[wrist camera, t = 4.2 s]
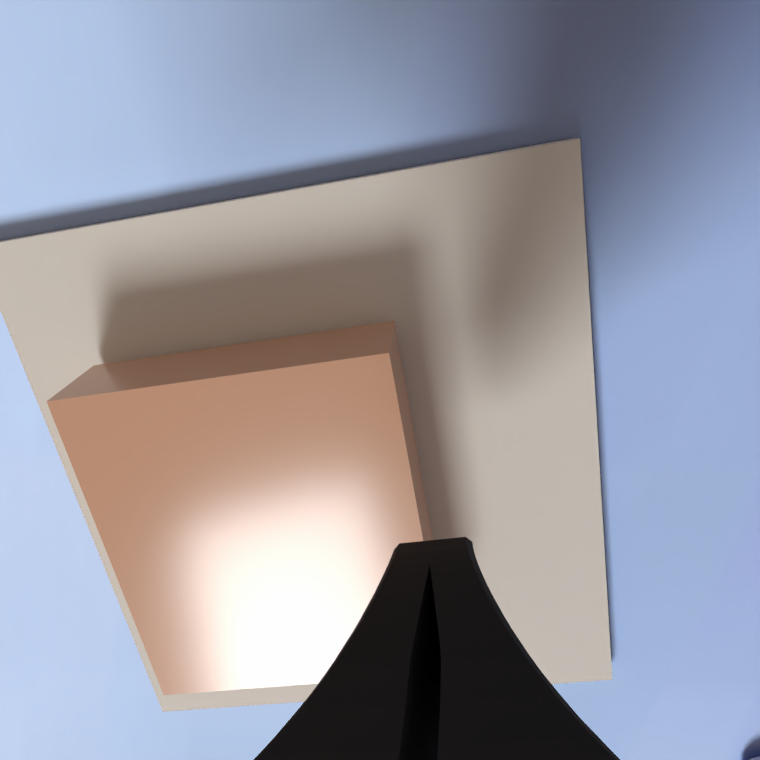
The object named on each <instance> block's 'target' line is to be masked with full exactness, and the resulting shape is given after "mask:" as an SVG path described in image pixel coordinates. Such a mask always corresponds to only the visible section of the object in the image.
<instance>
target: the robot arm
mask: <svg viewBox="0 0 760 760" xmlns="http://www.w3.org/2000/svg"><path fill="white" fill-rule="evenodd" d="M254 760H620V759H619V758H618V757H617V756H616V755H615V754H614V753H613V752H612V751H611V750H610V749H609V748H608V747H607V746H606V745H605V744H604V743H603V742H602V741H601V739H600V738H599V737H598V736H597V735H596V734H595V733H594V732H593V731H592V730H591V729H590V728H589V727H588V726H587V725H586V724H585V723H584V722H583V721H582V720H581V719H580V718H579V716H578V715H577V714H576V713H575V712H574V711H573V710H572V708H571V707H570V706H569V705H568V704H567V702H566V701H565V700H564V699H563V698H562V697H561V695H560V694H559V693H558V692H557V691H556V689H555V688H554V687H553V686H552V684H551V683H550V682H549V680H548V679H547V678H546V677H545V675H544V674H543V673H542V672H541V670H540V669H539V667H538V666H537V665H536V663H535V662H534V661H533V659H532V658H531V656H530V655H529V654H528V652H527V651H526V649H525V648H524V646H523V645H522V643H521V642H520V640H519V639H518V637H517V636H516V634H515V633H514V631H513V630H512V628H511V626H510V625H509V623H508V622H507V620H506V618H505V617H504V615H503V613H502V611H501V609H500V608H499V606H498V604H497V602H496V601H495V599H494V597H493V595H492V593H491V591H490V589H489V587H488V585H487V583H486V581H485V579H484V577H483V574H482V572H481V570H480V567H479V565H478V562H477V559H476V557H475V553H474V549H473V543H472V541H471V540H469V539H468V538H466V537H458V538H448V539H439V540H429V541H419V542H409V543H399V544H398V546H397V547H396V548H395V549H394V551H393V554H392V556H391V559H390V561H389V563H388V566H387V568H386V570H385V572H384V574H383V577H382V579H381V581H380V583H379V585H378V587H377V589H376V591H375V593H374V595H373V597H372V598H371V600H370V602H369V604H368V606H367V608H366V609H365V611H364V613H363V615H362V617H361V619H360V620H359V622H358V624H357V626H356V627H355V629H354V631H353V632H352V634H351V635H350V637H349V639H348V640H347V642H346V643H345V645H344V646H343V648H342V650H341V651H340V653H339V654H338V656H337V657H336V659H335V661H334V662H333V664H332V665H331V667H330V668H329V669H328V671H327V672H326V674H325V675H324V677H323V678H322V679H321V681H320V682H319V683H318V685H317V686H316V687H315V689H314V690H313V691H312V693H311V694H310V695H309V697H308V698H307V699H306V700H305V702H304V703H303V704H302V706H301V707H300V708H299V709H298V710H297V712H296V713H295V714H294V715H293V716H292V718H291V719H290V720H289V721H288V722H287V723H286V725H285V726H284V727H283V728H282V729H281V730H280V732H279V733H278V734H277V735H276V736H275V737H274V738H273V740H272V741H271V742H270V743H269V744H268V745H267V746H266V747H265V748H264V749H263V750H262V752H261V753H260V754H259V755H258V756H257V757H256V758H255V759H254ZM750 760H760V756H759V757H754V758H752V759H750Z"/></svg>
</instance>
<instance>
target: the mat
mask: <svg viewBox="0 0 760 760" xmlns="http://www.w3.org/2000/svg"><path fill="white" fill-rule="evenodd" d="M0 311H1V313H2V316H3V318H4V320H5V323H6V325H7V328H8V330H9V333H10V335H11V338H12V340H13V343H14V345H15V348H16V350H17V353H18V355H19V358H20V360H21V362H22V365H23V367H24V370H25V372H26V375H27V377H28V380H29V382H30V385H31V387H32V390H33V392H34V395H35V397H36V399H37V402H38V404H39V407H40V409H41V412H42V414H43V417H44V419H45V422H46V424H47V427H48V429H49V432H50V434H51V436H52V439H53V441H54V444H55V446H56V449H57V451H58V454H59V456H60V459H61V461H62V464H63V466H64V469H65V471H66V474H67V476H68V478H69V481H70V483H71V486H72V488H73V491H74V493H75V496H76V498H77V501H78V503H79V506H80V508H81V511H82V513H83V515H84V518H85V520H86V523H87V525H88V528H89V530H90V533H91V535H92V538H93V540H94V543H95V545H96V548H97V550H98V552H99V555H100V557H101V560H102V562H103V565H104V567H105V570H106V572H107V575H108V577H109V580H110V582H111V585H112V587H113V590H114V592H115V594H116V597H117V599H118V602H119V604H120V607H121V609H122V612H123V614H124V617H125V619H126V622H127V624H128V627H129V629H130V631H131V634H132V636H133V639H134V641H135V644H136V646H137V649H138V651H139V654H140V656H141V659H142V661H143V664H144V666H145V668H146V671H147V673H148V676H149V678H150V681H151V683H152V686H153V688H154V691H155V693H156V696H157V698H158V701H159V703H160V705H161V708H162V710H163V712H165V711H179V710H193V709H207V708H221V707H235V706H249V705H263V704H277V703H291V702H305V700H306V699H307V698H308V697H309V695H310V694H311V693H312V691H313V690H314V689H315V687H316V686H317V685H318V684H307V685H294V686H280V687H267V688H253V689H240V690H227V691H213V692H200V693H187V694H173V695H163V692H162V690H161V687H160V685H159V682H158V679H157V677H156V674H155V672H154V669H153V667H152V664H151V662H150V659H149V657H148V654H147V652H146V649H145V647H144V644H143V642H142V639H141V637H140V634H139V632H138V629H137V627H136V624H135V622H134V619H133V617H132V614H131V612H130V609H129V607H128V604H127V602H126V599H125V597H124V594H123V592H122V589H121V587H120V584H119V582H118V579H117V577H116V574H115V572H114V569H113V567H112V564H111V562H110V559H109V557H108V554H107V552H106V549H105V547H104V544H103V542H102V539H101V537H100V534H99V532H98V529H97V527H96V524H95V522H94V519H93V517H92V514H91V512H90V509H89V507H88V504H87V502H86V499H85V497H84V494H83V492H82V489H81V487H80V484H79V482H78V479H77V477H76V474H75V472H74V469H73V467H72V464H71V462H70V459H69V457H68V454H67V452H66V449H65V447H64V444H63V442H62V439H61V437H60V434H59V432H58V429H57V427H56V424H55V422H54V419H53V417H52V414H51V412H50V409H49V407H48V404H47V402H46V401H48V400H49V399H50V398H52V397H53V396H54V395H55V394H57V393H58V392H59V391H61V390H62V389H63V388H65V387H66V386H67V385H69V384H70V383H71V382H72V381H74V380H75V379H76V378H78V377H79V376H80V375H82V374H83V373H84V372H86V371H87V370H88V369H89V368H91V367H92V366H93V365H99V364H106V363H113V362H120V361H126V360H133V359H140V358H147V357H153V356H160V355H167V354H174V353H180V352H187V351H194V350H201V349H207V348H214V347H221V346H228V345H234V344H241V343H248V342H255V341H261V340H268V339H275V338H282V337H288V336H295V335H302V334H309V333H315V332H322V331H329V330H336V329H342V328H349V327H356V326H363V325H369V324H376V323H383V322H390V321H395V326H396V331H397V337H398V343H399V349H400V354H401V360H402V366H403V371H404V377H405V383H406V389H407V394H408V400H409V406H410V411H411V417H412V423H413V428H414V434H415V440H416V446H417V451H418V457H419V463H420V468H421V474H422V480H423V486H424V491H425V497H426V503H427V508H428V514H429V520H430V525H431V531H432V537H433V540H439V539H448V538H458V537H466V538H468V539H469V540H471V541H472V543H473V549H474V553H475V557H476V559H477V562H478V565H479V567H480V570H481V572H482V574H483V577H484V579H485V581H486V583H487V585H488V587H489V589H490V591H491V593H492V595H493V597H494V599H495V601H496V602H497V604H498V606H499V608H500V609H501V611H502V613H503V615H504V617H505V618H506V620H507V622H508V623H509V625H510V626H511V628H512V630H513V631H514V633H515V634H516V636H517V637H518V639H519V640H520V642H521V643H522V645H523V646H524V648H525V649H526V651H527V652H528V654H529V655H530V656H531V658H532V659H533V661H534V662H535V663H536V665H537V666H538V667H539V669H540V670H541V672H542V673H543V674H544V675H545V677H546V678H547V679H548V680H549V682H550V683H551V684H557V683H571V682H585V681H599V680H612V666H611V649H610V633H609V616H608V599H607V582H606V566H605V549H604V532H603V515H602V498H601V482H600V465H599V448H598V431H597V414H596V398H595V381H594V364H593V347H592V330H591V314H590V297H589V280H588V263H587V246H586V230H585V213H584V196H583V179H582V162H581V146H580V139H579V138H572V139H567V140H561V141H555V142H550V143H544V144H539V145H533V146H527V147H522V148H516V149H511V150H505V151H500V152H494V153H488V154H483V155H477V156H472V157H466V158H460V159H455V160H449V161H444V162H438V163H432V164H427V165H421V166H416V167H410V168H405V169H399V170H393V171H388V172H382V173H377V174H371V175H365V176H360V177H354V178H349V179H343V180H338V181H332V182H326V183H321V184H315V185H310V186H304V187H298V188H293V189H287V190H282V191H276V192H270V193H265V194H259V195H254V196H248V197H243V198H237V199H231V200H226V201H220V202H215V203H209V204H203V205H198V206H192V207H187V208H181V209H176V210H170V211H164V212H159V213H153V214H148V215H142V216H136V217H131V218H125V219H120V220H114V221H108V222H103V223H97V224H92V225H86V226H81V227H75V228H69V229H64V230H58V231H53V232H47V233H41V234H36V235H30V236H25V237H19V238H14V239H8V240H2V241H0Z"/></svg>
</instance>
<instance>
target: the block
mask: <svg viewBox="0 0 760 760" xmlns="http://www.w3.org/2000/svg"><path fill="white" fill-rule="evenodd" d="M46 402H47V404H48V407H49V409H50V412H51V414H52V417H53V419H54V422H55V424H56V427H57V429H58V432H59V434H60V437H61V439H62V442H63V444H64V447H65V449H66V452H67V454H68V457H69V459H70V462H71V464H72V467H73V469H74V472H75V474H76V477H77V479H78V482H79V484H80V487H81V489H82V492H83V494H84V497H85V499H86V502H87V504H88V507H89V509H90V512H91V514H92V517H93V519H94V522H95V524H96V527H97V529H98V532H99V534H100V537H101V539H102V542H103V544H104V547H105V549H106V552H107V554H108V557H109V559H110V562H111V564H112V567H113V569H114V572H115V574H116V577H117V579H118V582H119V584H120V587H121V589H122V592H123V594H124V597H125V599H126V602H127V604H128V607H129V609H130V612H131V614H132V617H133V619H134V622H135V624H136V627H137V629H138V632H139V634H140V637H141V639H142V642H143V644H144V647H145V649H146V652H147V654H148V657H149V659H150V662H151V664H152V667H153V669H154V672H155V674H156V677H157V679H158V682H159V685H160V687H161V690H162V692H163V695H173V694H187V693H200V692H213V691H227V690H240V689H253V688H267V687H280V686H294V685H307V684H318V683H319V682H320V681H321V679H322V678H323V677H324V675H325V674H326V672H327V671H328V669H329V668H330V667H331V665H332V664H333V662H334V661H335V659H336V657H337V656H338V654H339V653H340V651H341V650H342V648H343V646H344V645H345V643H346V642H347V640H348V639H349V637H350V635H351V634H352V632H353V631H354V629H355V627H356V626H357V624H358V622H359V620H360V619H361V617H362V615H363V613H364V611H365V609H366V608H367V606H368V604H369V602H370V600H371V598H372V597H373V595H374V593H375V591H376V589H377V587H378V585H379V583H380V581H381V579H382V577H383V574H384V572H385V570H386V568H387V566H388V563H389V561H390V559H391V556H392V554H393V551H394V549H395V548H396V547H397V546H398V544H399V543H409V542H419V541H429V540H433V537H432V531H431V525H430V520H429V514H428V508H427V503H426V497H425V491H424V486H423V480H422V474H421V468H420V463H419V457H418V451H417V446H416V440H415V434H414V428H413V423H412V417H411V411H410V406H409V400H408V394H407V389H406V383H405V377H404V371H403V366H402V360H401V354H400V349H399V343H398V337H397V331H396V326H395V321H390V322H383V323H376V324H369V325H363V326H356V327H349V328H342V329H336V330H329V331H322V332H315V333H309V334H302V335H295V336H288V337H282V338H275V339H268V340H261V341H255V342H248V343H241V344H234V345H228V346H221V347H214V348H207V349H201V350H194V351H187V352H180V353H174V354H167V355H160V356H153V357H147V358H140V359H133V360H126V361H120V362H113V363H106V364H99V365H93V366H92V367H91V368H89V369H88V370H87V371H86V372H84V373H83V374H82V375H80V376H79V377H78V378H76V379H75V380H74V381H72V382H71V383H70V384H69V385H67V386H66V387H65V388H63V389H62V390H61V391H59V392H58V393H57V394H55V395H54V396H53V397H52V398H50V399H49V400H48V401H46Z"/></svg>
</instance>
